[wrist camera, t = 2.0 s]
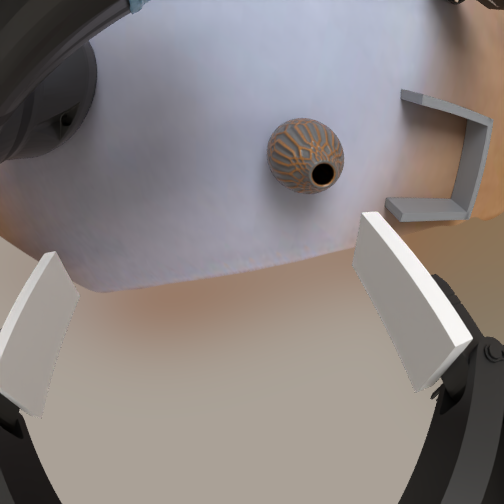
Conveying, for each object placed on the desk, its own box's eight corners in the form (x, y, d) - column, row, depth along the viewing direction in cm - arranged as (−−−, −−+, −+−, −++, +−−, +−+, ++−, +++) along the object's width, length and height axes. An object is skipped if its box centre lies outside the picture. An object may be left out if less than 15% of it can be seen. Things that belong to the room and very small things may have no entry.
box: (384, 206, 32) (400, 222, 29) (401, 89, 23) (422, 94, 20) (453, 205, 33) (469, 219, 30) (473, 111, 24) (493, 119, 21)
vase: (335, 127, 26) (376, 150, 19) (312, 183, 29) (342, 223, 22) (274, 104, 24) (298, 117, 17) (253, 166, 28) (266, 202, 21)
